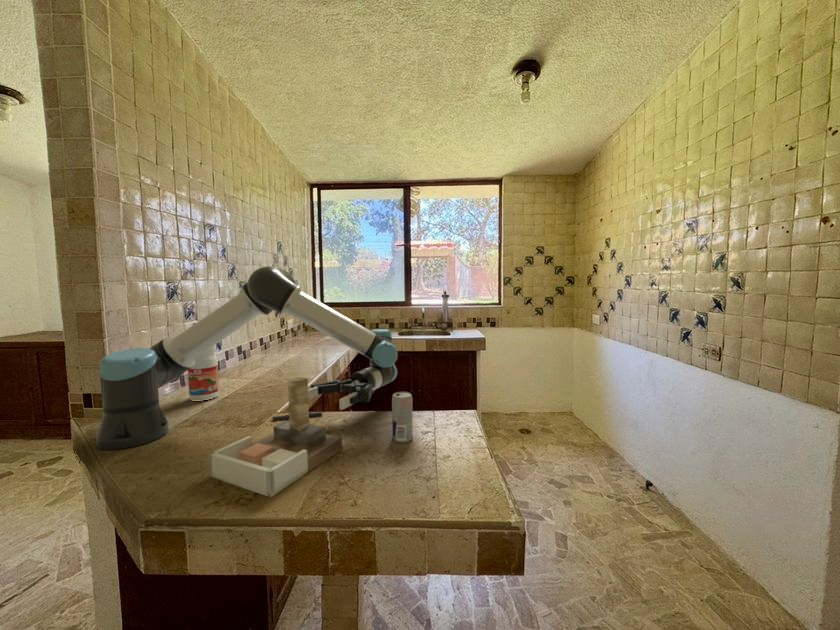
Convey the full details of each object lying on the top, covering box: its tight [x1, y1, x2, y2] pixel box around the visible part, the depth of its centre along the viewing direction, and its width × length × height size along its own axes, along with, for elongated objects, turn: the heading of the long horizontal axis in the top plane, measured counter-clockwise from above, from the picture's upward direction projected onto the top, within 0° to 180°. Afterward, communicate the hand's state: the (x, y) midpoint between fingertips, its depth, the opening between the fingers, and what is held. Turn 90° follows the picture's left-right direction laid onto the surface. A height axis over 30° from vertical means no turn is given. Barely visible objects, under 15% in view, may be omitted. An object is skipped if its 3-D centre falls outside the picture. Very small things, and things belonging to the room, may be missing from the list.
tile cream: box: [262, 449, 296, 469], centre depth 75 cm, size 5×5×3 cm
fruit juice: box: [187, 322, 220, 401], centre depth 127 cm, size 9×9×28 cm
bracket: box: [272, 411, 323, 422], centre depth 114 cm, size 14×15×3 cm
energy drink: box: [391, 391, 414, 444], centre depth 92 cm, size 5×5×12 cm
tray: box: [208, 435, 309, 498], centre depth 74 cm, size 18×10×5 cm, turn 65°
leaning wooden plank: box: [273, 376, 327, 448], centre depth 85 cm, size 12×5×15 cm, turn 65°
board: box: [252, 432, 343, 473], centre depth 84 cm, size 18×12×3 cm, turn 65°
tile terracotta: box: [239, 443, 274, 466], centre depth 78 cm, size 5×5×3 cm
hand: (319, 401), depth 91 cm, fingers open, 13 cm apart
